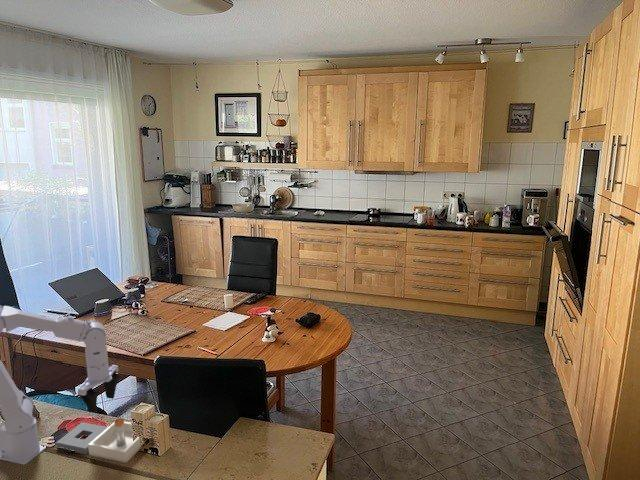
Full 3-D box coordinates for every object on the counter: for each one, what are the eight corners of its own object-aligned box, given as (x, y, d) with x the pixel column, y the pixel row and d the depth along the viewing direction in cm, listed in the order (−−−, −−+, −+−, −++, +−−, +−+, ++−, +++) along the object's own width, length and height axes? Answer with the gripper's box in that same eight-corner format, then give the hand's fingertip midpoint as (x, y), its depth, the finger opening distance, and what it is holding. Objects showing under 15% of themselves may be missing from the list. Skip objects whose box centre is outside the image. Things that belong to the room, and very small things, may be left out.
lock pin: (114, 445, 134) (112, 422, 133) (120, 440, 137) (118, 417, 135) (122, 447, 134) (119, 423, 132) (127, 442, 136) (125, 419, 135)
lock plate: (56, 448, 134) (56, 442, 134) (82, 427, 143) (81, 422, 143) (86, 454, 132) (85, 448, 131) (110, 433, 141) (109, 427, 140)
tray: (89, 455, 131) (87, 444, 130) (117, 429, 143) (116, 419, 142) (125, 463, 128) (124, 452, 128) (151, 436, 140) (151, 426, 139)
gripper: (91, 376, 129) (95, 420, 132) (125, 353, 142) (128, 393, 145) (69, 373, 130) (75, 416, 133) (105, 350, 144) (109, 390, 147)
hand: (101, 404), depth 139 cm, fingers open, 7 cm apart
